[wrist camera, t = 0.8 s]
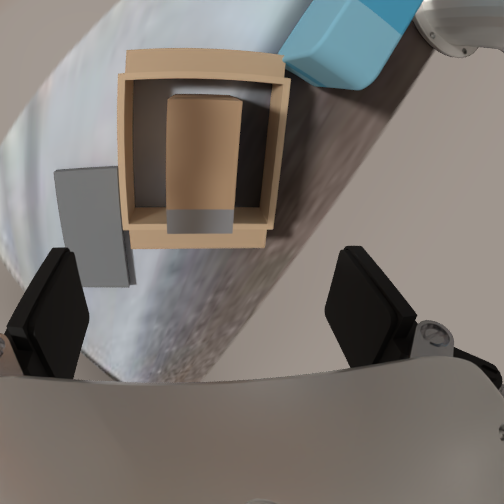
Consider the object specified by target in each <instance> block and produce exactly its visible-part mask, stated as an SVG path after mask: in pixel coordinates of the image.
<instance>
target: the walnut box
mask: <svg viewBox="0 0 504 504" xmlns="http://www.w3.org/2000/svg"><path fill="white" fill-rule="evenodd" d="M242 102H243V101H241V100H239V99H237V98H234V97H232V96H230V95H213V94H175V95H173V96H172V97H170V98H169V99H167V126H166V215H167V234H232V233H233V218H234V204H235V190H236V176H237V163H238V150H239V138H240V126H241V114H242Z"/></svg>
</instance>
